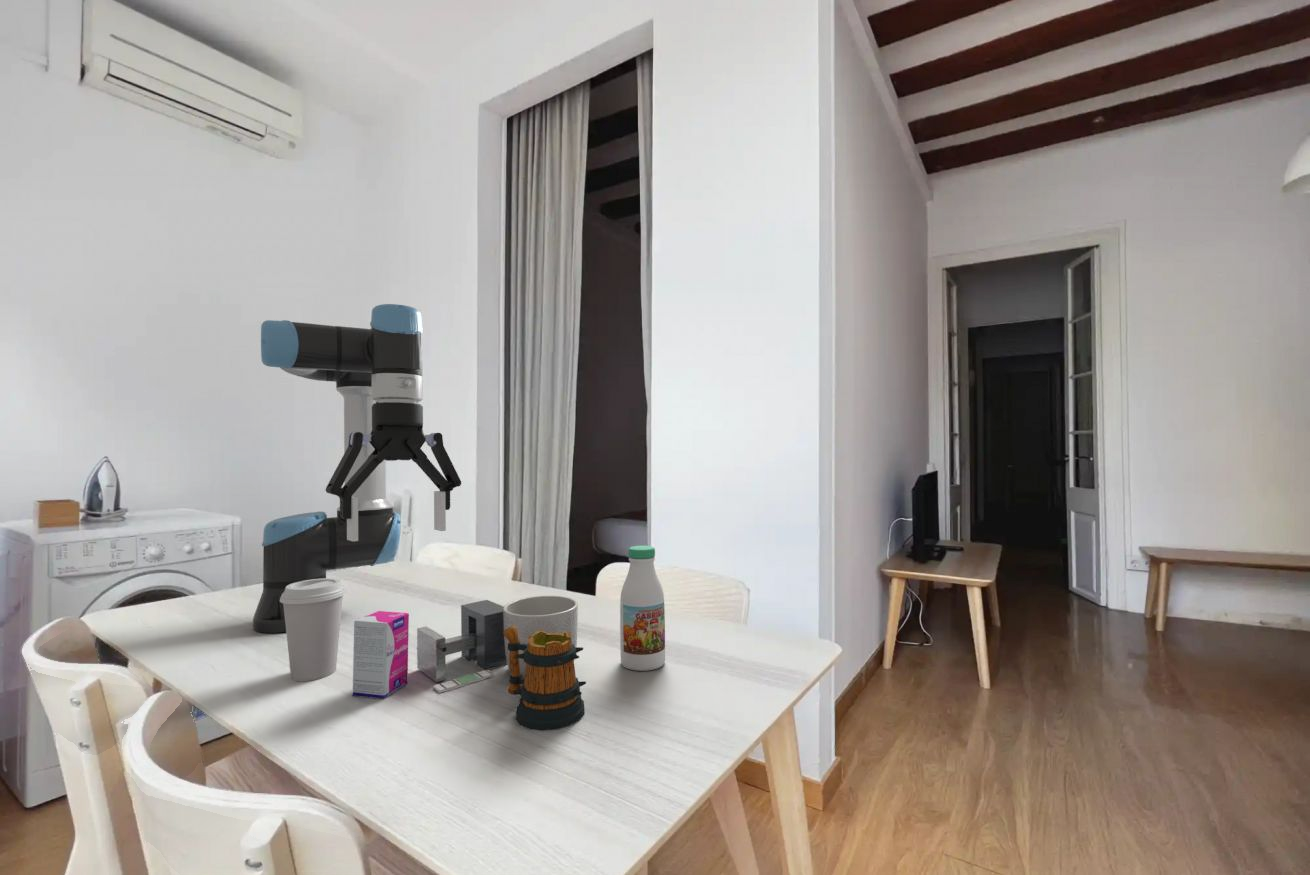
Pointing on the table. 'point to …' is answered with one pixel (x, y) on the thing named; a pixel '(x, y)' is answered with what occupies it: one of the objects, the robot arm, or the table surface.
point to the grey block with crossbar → (439, 651)
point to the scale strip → (463, 681)
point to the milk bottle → (642, 613)
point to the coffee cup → (313, 626)
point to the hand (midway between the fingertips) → (398, 535)
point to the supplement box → (380, 654)
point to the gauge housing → (484, 633)
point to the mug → (545, 680)
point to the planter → (540, 619)
